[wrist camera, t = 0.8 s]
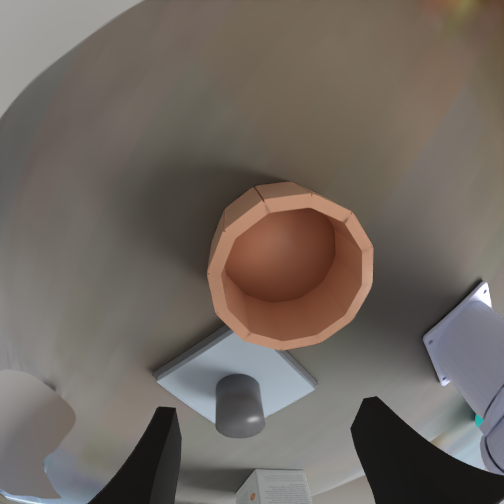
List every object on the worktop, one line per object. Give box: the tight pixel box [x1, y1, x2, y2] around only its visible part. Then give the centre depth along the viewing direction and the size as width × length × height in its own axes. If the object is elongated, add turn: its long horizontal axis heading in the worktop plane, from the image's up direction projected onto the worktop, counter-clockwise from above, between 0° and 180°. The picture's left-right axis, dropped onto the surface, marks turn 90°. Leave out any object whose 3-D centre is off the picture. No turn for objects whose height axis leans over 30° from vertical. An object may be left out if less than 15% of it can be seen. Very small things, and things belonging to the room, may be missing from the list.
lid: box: [157, 329, 315, 438], centre depth 19 cm, size 8×8×4 cm
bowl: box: [207, 181, 373, 351], centre depth 16 cm, size 8×8×4 cm
